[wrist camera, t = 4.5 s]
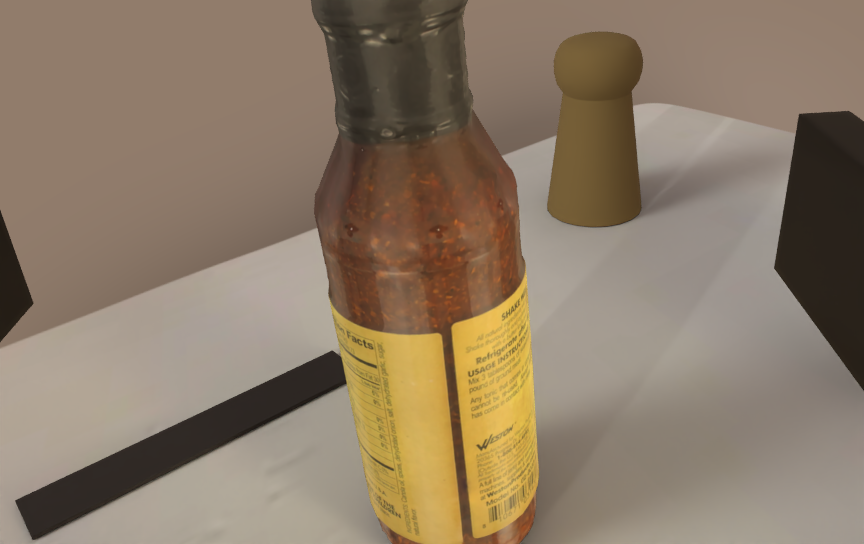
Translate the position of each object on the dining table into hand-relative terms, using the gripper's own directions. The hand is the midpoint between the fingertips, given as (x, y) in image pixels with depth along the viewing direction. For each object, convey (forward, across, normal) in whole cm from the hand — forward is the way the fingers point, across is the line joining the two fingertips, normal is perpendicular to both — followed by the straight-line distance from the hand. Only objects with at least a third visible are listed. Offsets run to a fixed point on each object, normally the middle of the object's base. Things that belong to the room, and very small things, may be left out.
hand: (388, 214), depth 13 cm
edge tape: (+15, -11, -17) cm, 25 cm away
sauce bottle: (+10, 0, -17) cm, 20 cm away
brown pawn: (+36, +10, -17) cm, 41 cm away
